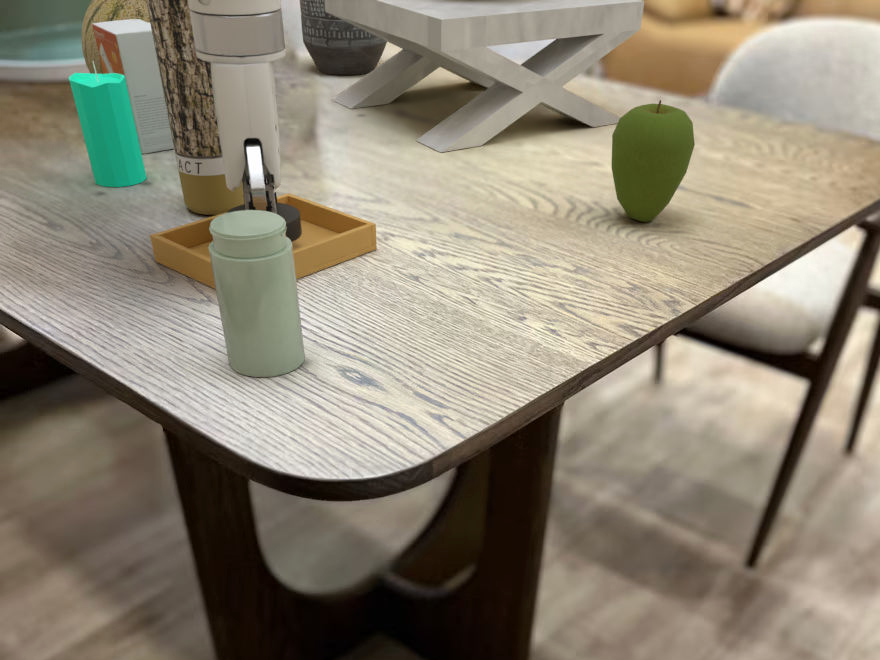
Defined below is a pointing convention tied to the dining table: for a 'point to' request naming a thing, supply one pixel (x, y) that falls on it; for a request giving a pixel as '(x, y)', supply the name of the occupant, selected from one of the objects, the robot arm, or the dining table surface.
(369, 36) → the planter
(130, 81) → the small box
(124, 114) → the candle
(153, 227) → the dining table surface
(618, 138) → the apple
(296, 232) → the lid
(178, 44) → the paper tube
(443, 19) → the x-leg display riser
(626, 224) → the dining table surface
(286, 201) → the tray
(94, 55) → the cantaloupe
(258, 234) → the jar
